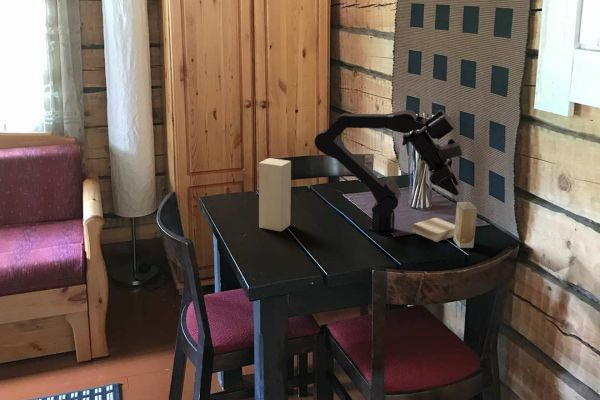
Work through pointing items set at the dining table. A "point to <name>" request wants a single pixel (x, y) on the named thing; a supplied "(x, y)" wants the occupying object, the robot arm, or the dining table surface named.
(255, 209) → the dining table surface
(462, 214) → the skincare box
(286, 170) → the beige tall rectangular block
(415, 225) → the birch block
